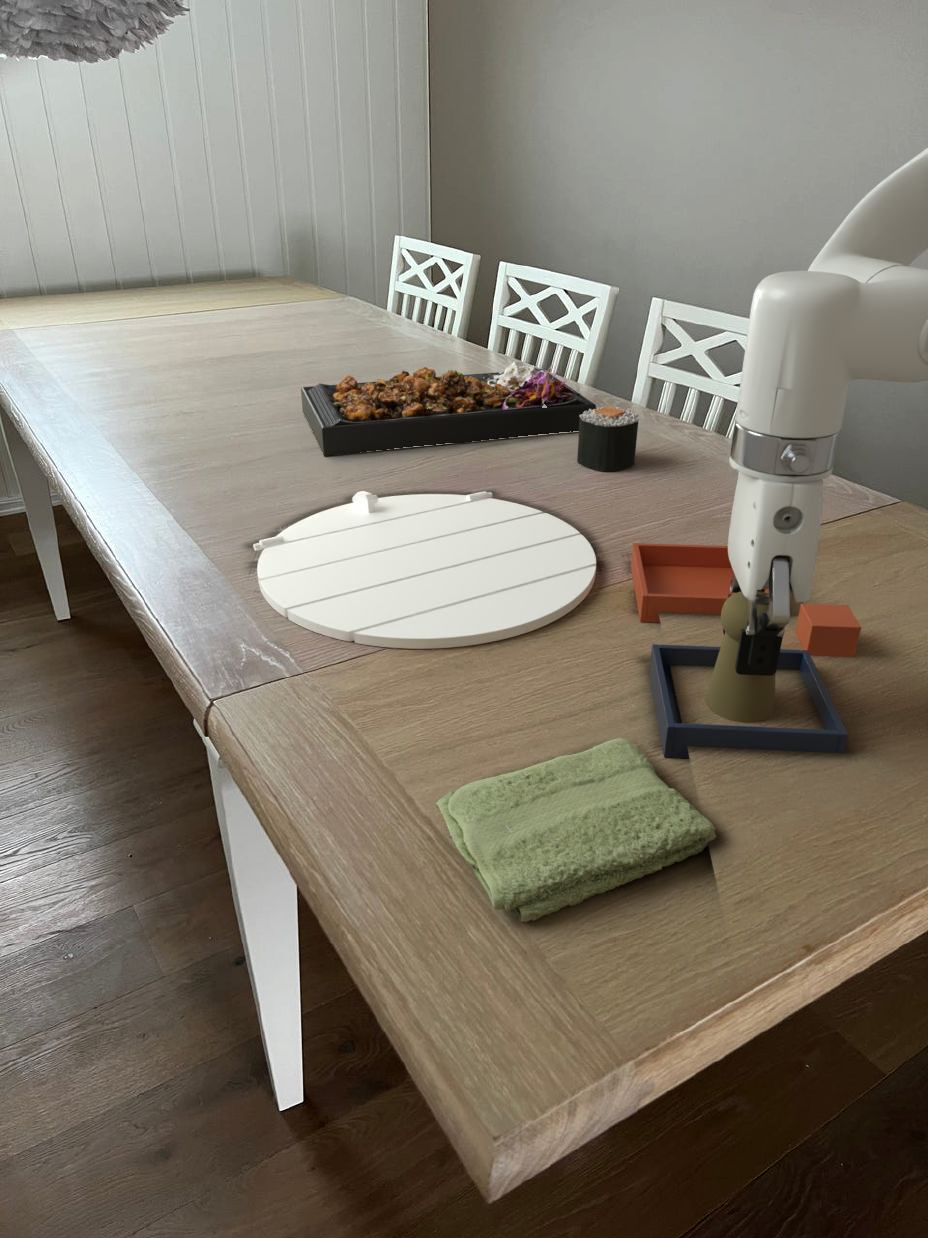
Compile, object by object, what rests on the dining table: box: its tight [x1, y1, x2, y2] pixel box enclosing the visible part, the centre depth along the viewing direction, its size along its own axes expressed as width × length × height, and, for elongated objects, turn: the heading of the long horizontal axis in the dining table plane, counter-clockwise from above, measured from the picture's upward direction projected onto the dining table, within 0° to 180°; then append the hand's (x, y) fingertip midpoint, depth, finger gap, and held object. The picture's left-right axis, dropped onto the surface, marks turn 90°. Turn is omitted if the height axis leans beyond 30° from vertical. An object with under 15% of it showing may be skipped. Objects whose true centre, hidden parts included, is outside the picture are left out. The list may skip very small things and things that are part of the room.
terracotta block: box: [794, 603, 862, 658], centre depth 89 cm, size 4×4×4 cm
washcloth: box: [435, 737, 717, 923], centre depth 67 cm, size 13×18×3 cm
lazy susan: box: [252, 490, 597, 650], centre depth 108 cm, size 40×39×3 cm
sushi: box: [576, 405, 640, 472], centre depth 137 cm, size 8×8×8 cm
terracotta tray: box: [630, 542, 769, 624], centre depth 101 cm, size 14×13×3 cm
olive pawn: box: [704, 591, 776, 724], centre depth 78 cm, size 6×6×11 cm
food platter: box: [300, 360, 597, 457], centre depth 155 cm, size 45×25×10 cm, turn 106°
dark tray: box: [648, 643, 849, 759], centre depth 81 cm, size 14×13×3 cm
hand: (748, 652), depth 78 cm, fingers closed on olive pawn, 5 cm apart
